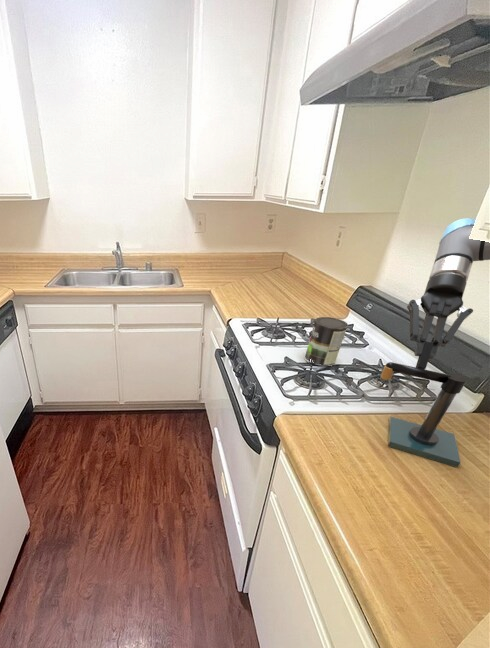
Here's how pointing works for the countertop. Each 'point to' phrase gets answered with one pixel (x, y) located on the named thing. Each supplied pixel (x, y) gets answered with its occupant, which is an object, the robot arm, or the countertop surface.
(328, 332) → the coffee can
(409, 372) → the spout
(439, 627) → the countertop surface
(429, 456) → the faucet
